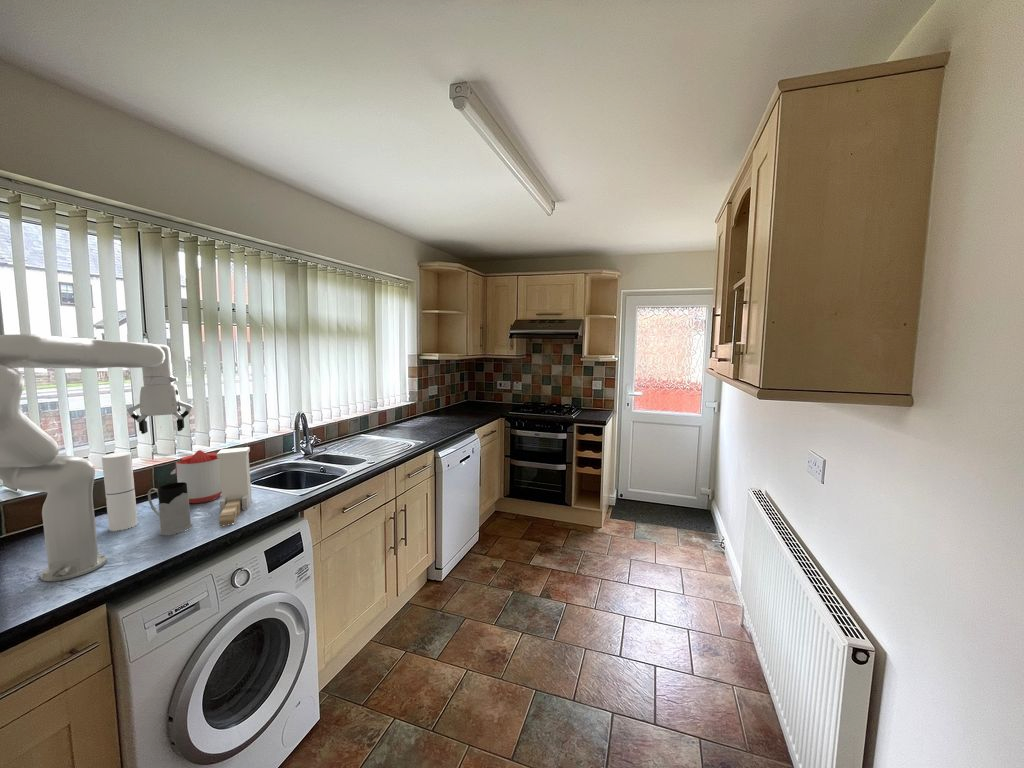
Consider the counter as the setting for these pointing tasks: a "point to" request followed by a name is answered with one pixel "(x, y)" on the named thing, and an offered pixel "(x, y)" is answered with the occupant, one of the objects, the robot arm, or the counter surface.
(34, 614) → the counter surface
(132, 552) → the counter surface
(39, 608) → the counter surface
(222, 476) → the tall white box
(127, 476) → the cylindrical container
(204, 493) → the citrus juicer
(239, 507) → the rail
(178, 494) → the grey mug
